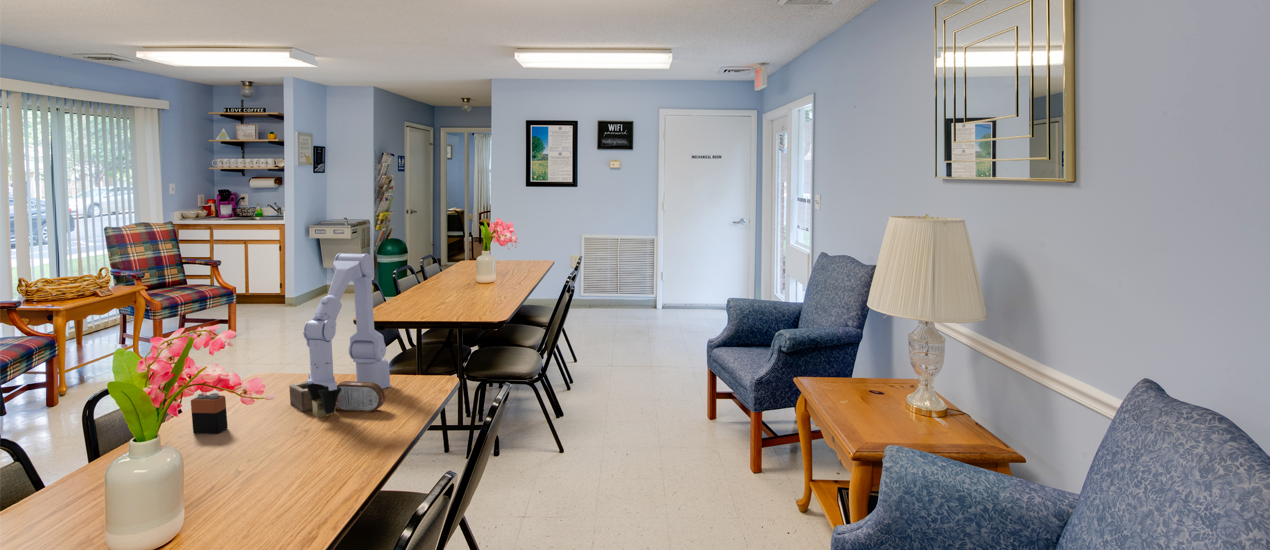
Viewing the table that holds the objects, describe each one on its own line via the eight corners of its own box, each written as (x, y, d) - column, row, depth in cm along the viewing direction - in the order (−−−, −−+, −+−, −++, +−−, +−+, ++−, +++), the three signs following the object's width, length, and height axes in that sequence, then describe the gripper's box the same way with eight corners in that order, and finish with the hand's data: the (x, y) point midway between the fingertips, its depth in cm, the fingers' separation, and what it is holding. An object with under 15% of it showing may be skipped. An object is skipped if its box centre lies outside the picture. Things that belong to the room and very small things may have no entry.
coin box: (325, 397, 207) (324, 378, 206) (337, 404, 201) (336, 384, 200) (290, 404, 200) (289, 384, 199) (302, 412, 194) (301, 391, 193)
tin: (386, 410, 196) (384, 381, 195) (381, 413, 193) (379, 384, 192) (336, 408, 198) (334, 379, 197) (330, 411, 195) (328, 382, 194)
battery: (218, 434, 177) (215, 397, 175) (192, 433, 177) (189, 396, 175) (228, 428, 181) (225, 391, 180) (203, 427, 181) (200, 391, 180)
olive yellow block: (331, 411, 195) (330, 396, 194) (335, 414, 193) (334, 398, 192) (312, 415, 191) (312, 400, 191) (317, 418, 189) (316, 402, 188)
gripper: (296, 360, 192) (299, 407, 194) (317, 370, 182) (319, 419, 184) (322, 355, 197) (324, 401, 199) (343, 365, 187) (346, 413, 189)
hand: (324, 409), depth 192 cm, fingers open, 7 cm apart
